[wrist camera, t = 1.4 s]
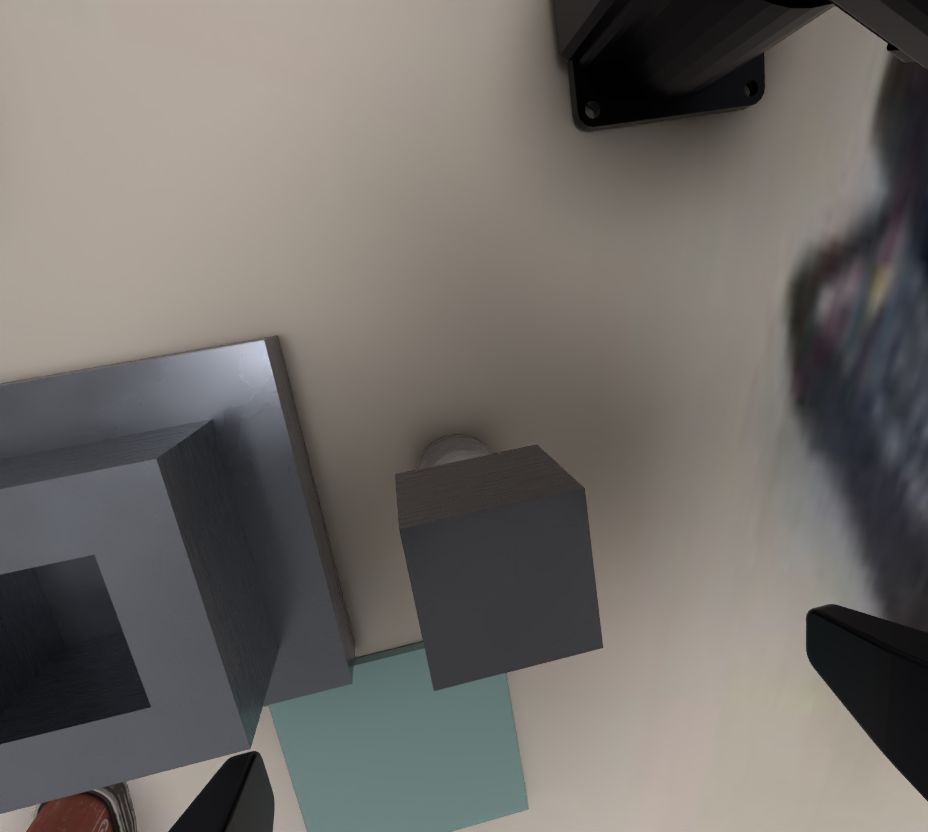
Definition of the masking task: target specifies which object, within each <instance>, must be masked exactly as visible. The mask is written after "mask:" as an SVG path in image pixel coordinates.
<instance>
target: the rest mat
mask: <svg viewBox="0 0 928 832" xmlns="http://www.w3.org/2000/svg"><path fill="white" fill-rule="evenodd" d="M269 709H270V712H271V715H272V718H273V722H274V725H275V728H276V731H277V735H278V738H279V741H280V744H281V748H282V751H283V754H284V757H285V761H286V764H287V767H288V771H289V774H290V777H291V780H292V784H293V787H294V790H295V793H296V797H297V800H298V803H299V806H300V810H301V813H302V816H303V820H304V823H305V826H306V829H307V832H452V831H455V830H459V829H462V828H465V827H469V826H472V825H476V824H479V823H483V822H486V821H490V820H493V819H497V818H500V817H503V816H507V815H510V814H514V813H517V812H521V811H524V810H528V809H529V808H528V802H527V796H526V790H525V784H524V778H523V773H522V767H521V761H520V755H519V749H518V743H517V737H516V732H515V726H514V720H513V714H512V708H511V702H510V697H509V691H508V685H507V679H506V673H503V674H499V675H495V676H491V677H488V678H484V679H480V680H476V681H472V682H468V683H464V684H460V685H457V686H453V687H449V688H445V689H441V690H437V691H434V689H433V685H432V680H431V675H430V671H429V666H428V661H427V657H426V652H425V647H424V642H420V643H416V644H412V645H408V646H404V647H400V648H396V649H392V650H388V651H384V652H380V653H376V654H371V655H367V656H363V657H359V658H355V659H354V669H353V682H352V684H350V685H346V686H342V687H338V688H334V689H330V690H326V691H322V692H318V693H314V694H310V695H306V696H302V697H298V698H294V699H290V700H286V701H283V702H279V703H275V704H271V705H269Z"/></svg>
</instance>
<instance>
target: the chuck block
mask: <svg viewBox="0 0 928 832" xmlns="http://www.w3.org/2000/svg"><path fill="white" fill-rule="evenodd" d="M354 656H355V644H354V640H353V636H352V632H351V628H350V624H349V620H348V616H347V612H346V608H345V604H344V600H343V596H342V592H341V588H340V584H339V580H338V576H337V572H336V568H335V564H334V560H333V556H332V552H331V548H330V544H329V540H328V536H327V532H326V528H325V524H324V520H323V516H322V512H321V508H320V504H319V500H318V496H317V492H316V488H315V484H314V480H313V476H312V472H311V468H310V464H309V460H308V456H307V452H306V448H305V444H304V440H303V436H302V432H301V428H300V424H299V420H298V416H297V412H296V408H295V404H294V400H293V396H292V392H291V388H290V384H289V380H288V376H287V372H286V368H285V364H284V360H283V356H282V352H281V348H280V344H279V340H278V336H272V337H266V338H261V339H255V340H249V341H243V342H238V343H232V344H226V345H220V346H215V347H209V348H203V349H197V350H192V351H186V352H180V353H174V354H168V355H163V356H157V357H151V358H145V359H140V360H134V361H128V362H122V363H117V364H111V365H105V366H99V367H94V368H88V369H82V370H76V371H71V372H65V373H59V374H53V375H48V376H42V377H36V378H30V379H24V380H19V381H13V382H7V383H1V384H0V814H2V813H6V812H9V811H13V810H17V809H21V808H25V807H29V806H33V805H36V804H40V803H44V802H48V801H52V800H56V799H59V798H63V797H67V796H71V795H75V794H79V793H83V792H86V791H90V790H94V789H98V788H102V787H106V786H110V785H113V784H117V783H121V782H125V781H129V780H133V779H136V778H140V777H144V776H148V775H152V774H156V773H160V772H163V771H167V770H171V769H175V768H179V767H183V766H186V765H190V764H194V763H198V762H202V761H206V760H210V759H213V758H217V757H221V756H225V755H229V754H233V753H237V752H240V751H244V750H248V749H250V748H251V745H252V741H253V738H254V735H255V731H256V728H257V724H258V721H259V717H260V714H261V711H262V707H263V706H267V705H271V704H275V703H279V702H283V701H286V700H290V699H294V698H298V697H302V696H306V695H310V694H314V693H318V692H322V691H326V690H330V689H334V688H338V687H342V686H346V685H350V684H352V682H353V669H354Z"/></svg>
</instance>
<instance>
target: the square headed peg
mask: <svg viewBox="0 0 928 832" xmlns="http://www.w3.org/2000/svg"><path fill="white" fill-rule="evenodd" d="M395 480H396V492H397V505H398V517H399V529H400V534H401V539H402V544H403V548H404V553H405V558H406V562H407V567H408V572H409V577H410V581H411V586H412V591H413V595H414V600H415V605H416V609H417V614H418V619H419V624H420V628H421V633H422V638H423V642H424V647H425V652H426V657H427V661H428V666H429V671H430V675H431V680H432V685H433V689H434V691H437V690H441V689H445V688H449V687H453V686H457V685H460V684H464V683H468V682H472V681H476V680H480V679H484V678H488V677H491V676H495V675H499V674H503V673H507V672H511V671H515V670H519V669H523V668H526V667H530V666H534V665H538V664H542V663H546V662H550V661H554V660H557V659H561V658H565V657H569V656H573V655H577V654H581V653H585V652H588V651H592V650H596V649H600V648H603V643H602V635H601V626H600V617H599V609H598V600H597V592H596V583H595V574H594V566H593V557H592V548H591V540H590V531H589V523H588V514H587V505H586V497H585V488H584V487H582V486H581V485H580V484H579V483H578V482H577V481H576V480H575V479H574V478H573V477H572V476H571V475H569V474H568V473H567V472H566V471H565V470H564V469H563V468H562V467H561V466H560V465H559V464H558V463H556V462H555V461H554V460H553V459H552V458H551V457H550V456H549V455H548V454H547V453H546V452H545V451H544V450H542V449H541V448H540V447H539V446H538V445H533V446H528V447H523V448H518V449H514V450H509V451H504V452H499V453H494V454H492V453H491V452H490V450H489V449H488V448H487V447H486V446H485V445H484V444H483V443H482V442H481V441H479V440H477V439H476V438H473V437H471V436H467V435H449V436H445V437H442V438H440V439H438V440H436V441H435V442H433V443H432V444H430V445H429V446H428V447H427V448H426V449H425V451H424V452H423V453H422V455H421V456H420V458H419V461H418V463H417V467H416V470H413V471H408V472H403V473H398V474H395Z"/></svg>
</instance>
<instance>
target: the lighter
mask: <svg viewBox="0 0 928 832" xmlns="http://www.w3.org/2000/svg"><path fill="white" fill-rule="evenodd" d="M26 832H137V828H136V819H135V814H134V810H133V806H132V803H131V799H130V795H129V791H128V788H127V784H126V783H125V782H121V783H117V784H113V785H110V786H106V787H102V788H98V789H94V790H90V791H86V792H83V793H79V794H75V795H71V796H67V797H63V798H59V799H56V800H52V801H48V802H44V803H40V804H38V806H37V808H36V810H35V815H34V820H33V822H32V824H31V825H30V827H29V828H28V830H27V831H26Z"/></svg>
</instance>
